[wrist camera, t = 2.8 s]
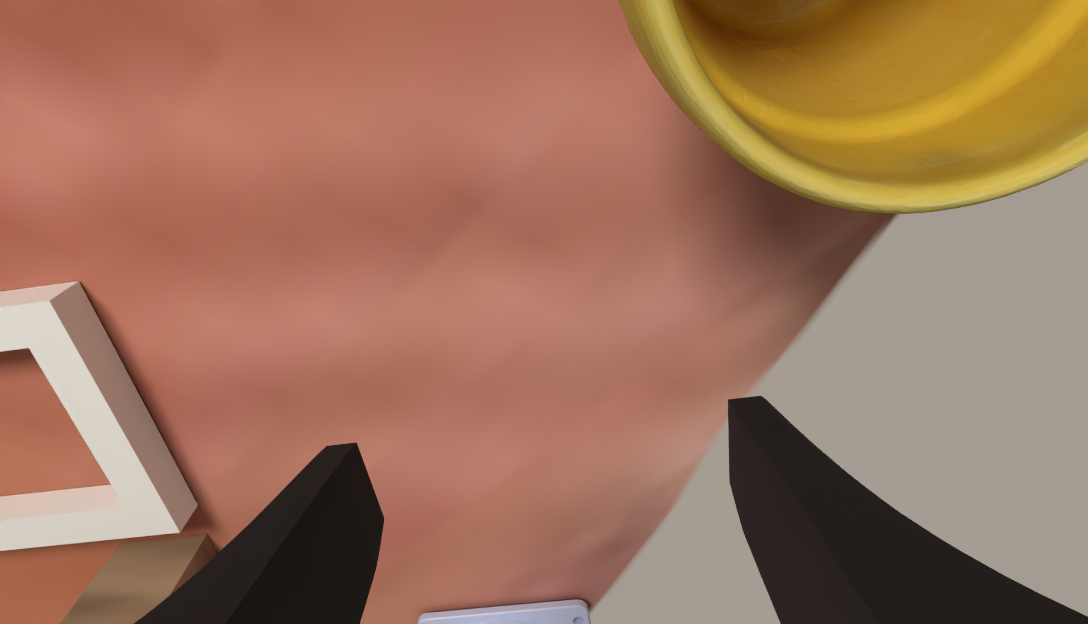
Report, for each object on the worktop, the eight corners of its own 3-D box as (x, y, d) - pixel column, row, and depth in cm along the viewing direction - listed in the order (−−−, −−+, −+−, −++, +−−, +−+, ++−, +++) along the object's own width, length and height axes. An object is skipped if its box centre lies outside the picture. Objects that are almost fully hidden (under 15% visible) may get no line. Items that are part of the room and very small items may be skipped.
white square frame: (197, 505, 27) (180, 532, 26) (-33, 529, 28) (-62, 557, 27) (78, 281, 22) (49, 301, 21) (-197, 318, 23) (-243, 339, 22)
